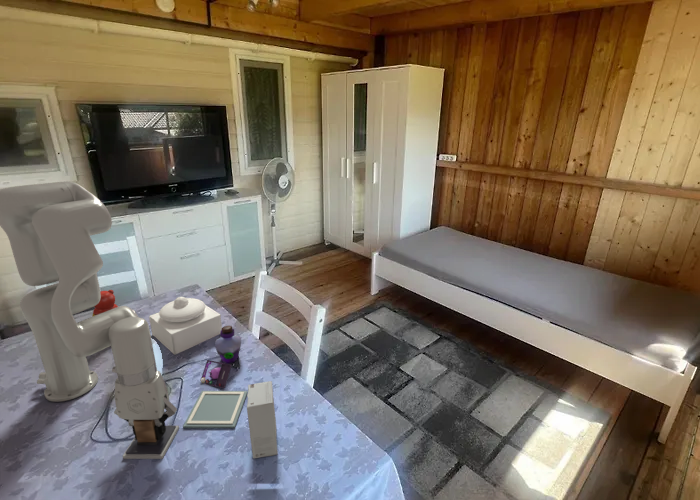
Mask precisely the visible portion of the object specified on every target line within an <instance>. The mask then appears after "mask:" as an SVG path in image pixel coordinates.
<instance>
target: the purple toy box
mask: <svg viewBox="0 0 700 500" xmlns="http://www.w3.org/2000/svg"><path fill="white" fill-rule="evenodd" d="M212 363H213V364H217V365H218V364H219V365H221V366H220V367H215V368H213V369H210V371H208V369H209V366H210V365H212ZM231 368H232V364H231V363H225V362H220V361H215V360H209V359H207V360H206V363H205V366H204V369H203V371H202V374H201V378H200V383H202V384H204V385H205V384H206V386H207V385H208V386H211V387H217V388H219V389H220V388H221V389H225V388H226V385H227V382H228V379H229V375H230V371H231ZM207 372H208V374H209V375H208V378H206V376H207ZM209 378H211V379H209ZM214 380H216V382H215V384H213V383H214Z"/></svg>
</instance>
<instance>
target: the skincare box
mask: <svg viewBox="0 0 700 500" xmlns="http://www.w3.org/2000/svg"><path fill="white" fill-rule="evenodd" d="M247 388H248V390H247V392H248V393H247V396H246V398H247V405H246V411H247V419H248V421H247V422H248V428H249V429H248V430H249V436H250V437H249V438H250V443H251V453H252V459H258V458H264V457H272V456H277V455H278V443H277V420H276V410H275V409H276V408H275V400H274V399H275V398H274V391H273V390H274V389H273V381H272V380H271V381H270V380H269V381H263V382H257V383H252V384H248V385H247Z"/></svg>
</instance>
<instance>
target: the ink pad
mask: <svg viewBox="0 0 700 500" xmlns="http://www.w3.org/2000/svg"><path fill="white" fill-rule="evenodd" d="M165 426H166V431H165V433H164V434H163V435H162V437H161V439H160V441H159V442H158V444H157V445H137V442H138V441H137V440H135V437H133V439H132V441H131V442H130V444H129V445H128V447H127V448H126V450H125V451H124V453H123V455H122V459H125V460H127V459H129V460H136V459H138V460H141V459H142V460H143V459H144V460H151V459H152V460H156V459H157V460H159V459H160V460H163V459H164V457H165V454H166V453H167V451H168V450H169V448H170V446H171V444H172V442H173V441H174V438H175V437H176V436H177V433H178V431H179V429H180V425H165Z"/></svg>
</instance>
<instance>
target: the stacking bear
mask: <svg viewBox="0 0 700 500" xmlns="http://www.w3.org/2000/svg"><path fill="white" fill-rule="evenodd" d="M100 293H101V299H100V302H99V303H98V304H97V305H96V306H94V307H93V308H94V309H93V311H92V315H91V317H93V316H95V315H98V314H101V313H104V312H106V311H109V310H111V309H114V308H116V307H119V306H118V305H117V304H116V296H115V294H114V293H115V292H114V290H112V289H108V290H100Z"/></svg>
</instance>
